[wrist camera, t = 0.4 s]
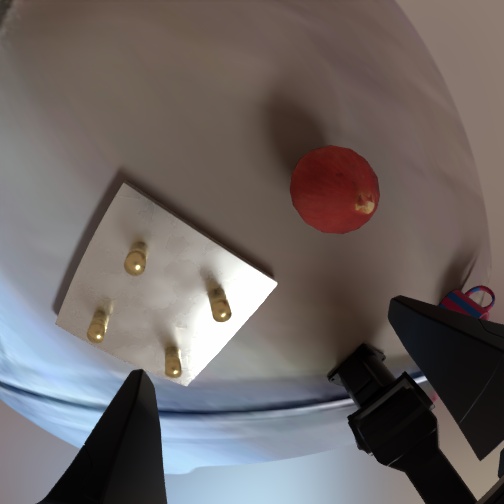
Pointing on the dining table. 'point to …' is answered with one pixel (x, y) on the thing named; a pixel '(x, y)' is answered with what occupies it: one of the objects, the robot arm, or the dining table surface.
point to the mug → (468, 303)
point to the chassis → (159, 289)
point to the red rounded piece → (334, 189)
